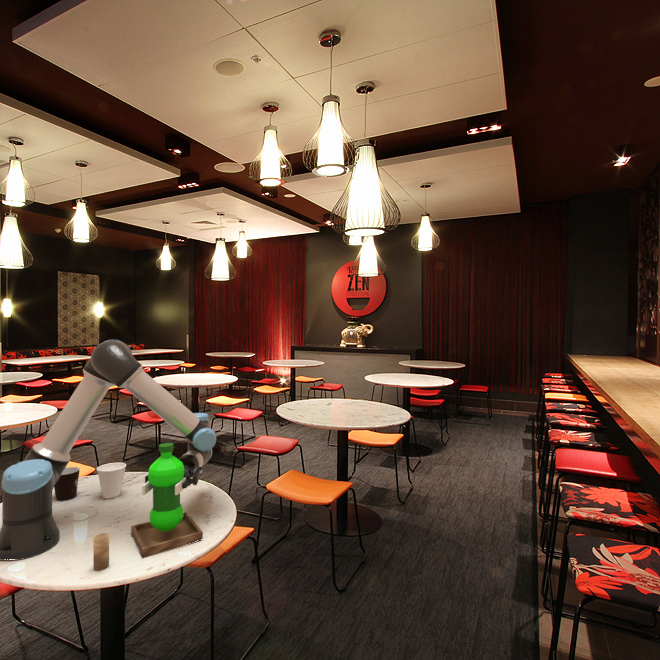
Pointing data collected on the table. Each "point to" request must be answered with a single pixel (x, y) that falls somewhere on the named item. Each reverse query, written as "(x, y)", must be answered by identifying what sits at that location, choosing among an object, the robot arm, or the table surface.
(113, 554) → the table surface
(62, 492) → the coffee mug
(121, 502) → the table surface
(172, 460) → the plastic bottle
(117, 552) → the table surface
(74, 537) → the table surface
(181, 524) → the tray
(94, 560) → the peg
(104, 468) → the cup
